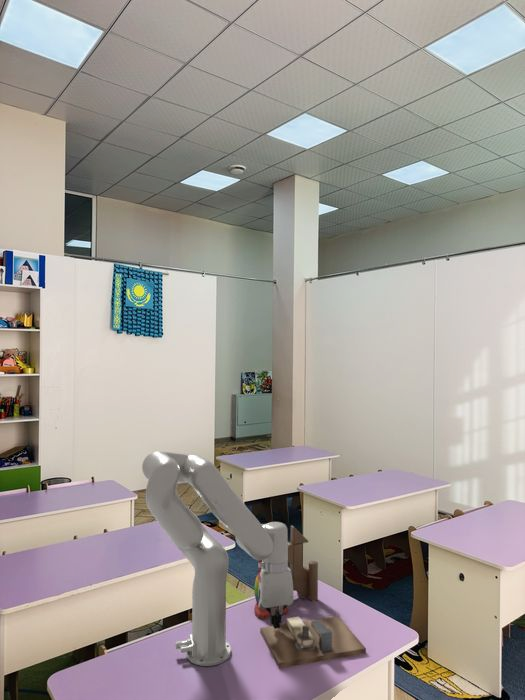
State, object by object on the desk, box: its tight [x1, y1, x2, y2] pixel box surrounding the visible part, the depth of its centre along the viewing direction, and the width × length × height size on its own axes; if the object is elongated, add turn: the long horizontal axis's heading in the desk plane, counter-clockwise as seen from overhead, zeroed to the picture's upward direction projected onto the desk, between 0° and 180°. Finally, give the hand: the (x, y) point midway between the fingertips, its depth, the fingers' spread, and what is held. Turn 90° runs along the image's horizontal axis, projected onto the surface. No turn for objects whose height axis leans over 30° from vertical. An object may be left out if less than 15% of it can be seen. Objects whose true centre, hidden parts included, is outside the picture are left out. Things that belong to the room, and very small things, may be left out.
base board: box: [259, 615, 367, 670], centre depth 146 cm, size 26×18×2 cm
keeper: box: [311, 619, 332, 653], centre depth 143 cm, size 3×8×6 cm, turn 16°
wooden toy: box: [288, 525, 319, 602], centre depth 172 cm, size 16×7×25 cm, turn 111°
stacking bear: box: [253, 560, 289, 620], centre depth 165 cm, size 11×10×18 cm
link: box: [286, 616, 315, 649], centre depth 146 cm, size 14×5×4 cm, turn 16°
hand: (275, 626), depth 150 cm, fingers closed
